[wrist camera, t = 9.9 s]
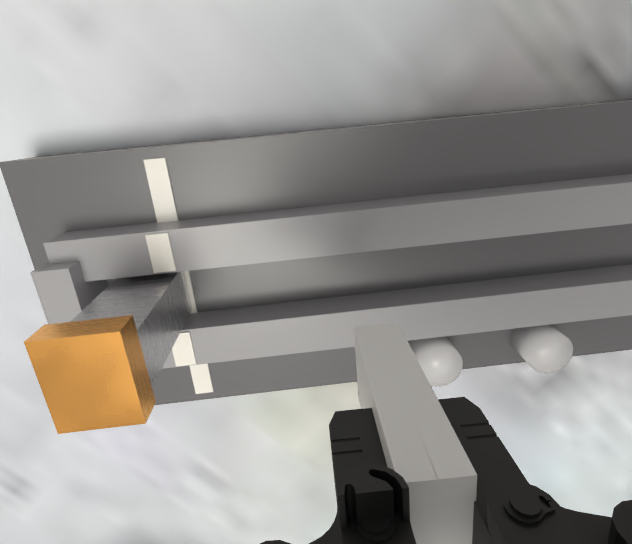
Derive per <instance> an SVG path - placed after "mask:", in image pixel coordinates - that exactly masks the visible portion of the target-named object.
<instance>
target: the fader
mask: <svg viewBox="0 0 632 544" xmlns="http://www.w3.org/2000/svg"><path fill="white" fill-rule="evenodd" d="M191 310H192V306H191V302H190V297H189V292H188V287H187V283H186V278H185V273H184V271H181V272H172V273H162V274H153V275H144V276H134V277H125V278H116V279H115V280H114V281H113V282H112V283H111V284H110V285H109V286H108V287H107V288H106V289H105V290H104V291H102V292H101V293H100V294H99V295H98V296H97V297H96V298H95V299H94V300H93V301H92V302H91V303H89V304H88V305H87V306H86V307H85V308H84V309H83V310H82V311H81V312H80V313H79V314H78V315H77V316H75V317H74V318H73V319H72V320H71V321H70V322H65V323H56V324H47V325H44V326H42V327H41V328H40V329H39V330H38V331H36V332H35V333H34V334H33V335H32V336H31V337H29V338H28V339H27V340H26V341H25V342H24V344H25V346H26V349H27V352H28V354H29V357H30V360H31V362H32V365H33V368H34V370H35V373H36V376H37V379H38V381H39V384H40V387H41V389H42V392H43V395H44V397H45V400H46V403H47V405H48V408H49V411H50V413H51V416H52V419H53V422H54V424H55V427H56V430H57V432H58V434H60V433H69V432H77V431H86V430H94V429H103V428H111V427H120V426H128V425H137V424H145V423H146V422H147V420H148V417H149V415H150V413H151V411H152V409H153V407H154V404H155V402H156V401H155V397H154V393H153V390H152V388H153V386H154V384H155V382H156V380H157V378H158V376H159V374H160V372H161V370H162V368H163V366H164V364H165V362H166V360H167V358H168V356H169V354H170V352H171V350H172V348H173V346H174V344H175V342H176V340H177V338H178V336H179V334H180V332H181V330H182V328H183V326H184V324H185V322H186V320H187V318H188V316H189V314H190V312H191Z"/></svg>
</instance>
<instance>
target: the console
mask: <svg viewBox="0 0 632 544" xmlns="http://www.w3.org/2000/svg"><path fill="white" fill-rule="evenodd" d="M0 168H1V171H2V174H3V177H4V180H5V183H6V186H7V189H8V191H9V194H10V197H11V200H12V203H13V206H14V209H15V212H16V215H17V218H18V221H19V224H20V227H21V230H22V233H23V236H24V239H25V242H26V245H27V247H28V250H29V253H30V256H31V259H32V262H33V265H34V268H35V270H34V271H32V272H31V275H32V278H33V281H34V284H35V287H36V290H37V293H38V296H39V298H40V301H41V304H42V307H43V310H44V313H45V316H46V319H47V322H48V324H56V323H65V322H70V321H71V320H72V319H73V318H74V317H75V316H77V315H78V314H79V313H80V312H81V311H82V310H83V309H84V308H85V307H86V306H87V305H88V304H89V303H91V302H92V301H93V300H94V299H95V298H96V297H97V296H98V295H99V294H100V293H101V292H102V291H104V290H105V289H106V288H107V287H108V286H109V285H110V284H111V283H112V282H113V281H114V280H115V279H116V278H125V277H134V276H144V275H153V274H162V273H172V272H181V271H184V273H185V278H186V283H187V287H188V292H189V297H190V302H191V306H192V310H191V312H190V314H189V316H188V318H187V320H186V322H185V324H184V326H183V328H182V330H181V332H180V334H179V336H178V338H177V340H176V342H175V344H174V346H173V348H172V350H171V352H170V354H169V356H168V358H167V360H166V362H165V364H164V366H163V368H162V370H161V372H160V374H159V376H158V378H157V380H156V382H155V384H154V386H153V388H152V390H153V393H154V397H155V401H156V402H155V404H154V405H160V404H168V403H177V402H185V401H194V400H203V399H211V398H220V397H228V396H237V395H245V394H254V393H262V392H271V391H280V390H288V389H297V388H305V387H314V386H322V385H331V384H340V383H348V382H357V369H356V355H355V340H354V327H359V326H369V325H378V324H388V323H398V324H399V326H400V328H401V329H402V331H403V333H404V335H405V337H406V339H407V341H408V343H409V345H410V347H411V349H412V351H413V353H414V354H415V356H416V358H417V360H418V362H419V364H420V366H421V368H422V370H423V372H424V374H425V376H426V378H427V379H428V381H429V383H430V385H431V386H443V385H447V384H449V383H451V382H452V381H454V380H455V379H456V378H457V377H458V376H459V374H460V373H461V370H462V369H468V368H476V367H485V366H494V365H502V364H511V363H519V362H527V363H528V364H529V365H530V366H531V367H532V368H533V369H534V370H536V371H537V372H540V373H553V372H556V371H558V370H560V369H561V368H563V367H564V366H565V365H566V364H567V363H568V362H569V360H570V359H571V357H572V356H579V355H588V354H596V353H605V352H613V351H622V350H631V349H632V100H622V101H612V102H601V103H591V104H581V105H570V106H560V107H550V108H539V109H529V110H519V111H508V112H498V113H488V114H477V115H467V116H457V117H446V118H436V119H426V120H415V121H405V122H395V123H384V124H374V125H363V126H353V127H343V128H332V129H322V130H312V131H301V132H291V133H281V134H270V135H260V136H250V137H239V138H229V139H219V140H208V141H198V142H188V143H177V144H167V145H157V146H146V147H136V148H125V149H115V150H105V151H94V152H84V153H74V154H63V155H53V156H43V157H33V158H26V159H19V160H12V161H5V162H0Z"/></svg>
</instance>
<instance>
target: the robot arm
mask: <svg viewBox="0 0 632 544" xmlns="http://www.w3.org/2000/svg"><path fill="white" fill-rule="evenodd" d="M354 340H355V355H356V369H357V384H358V397H359V401H360V405H361V409H356V410H346V411H336V412H335V413H334V416H333V418H332V420H331V422H330V424H329V430H330V440H331V450H332V460H333V470H334V480H335V489H336V498H337V515H336V518H335V521H334V523H333V524H332V526H331V527H330V529H329V530H328V531H327V532H326V533H325V534H324V535H323V536H322V537H320V538H318V539H317V540H315V541H313V542H311V543H309V544H632V500H629V501H622V502H621V503H620V504H618V505H617V506H616V507H614V511H613V516H612V517H606V516H600V515H594V514H588V513H582V512H577V511H573V510H569V509H565V508H563V507H561V506H559V504H558V503H557V502H556V501H555V500H554V499H553V498H552V497H551V496H550V495H549V494H547V493H546V492H544V491H543V490H541V489H539V488H538V487H536V486H533V485H530V484H529V483H528V482H527V480H526V478H525V477H524V475H523V474H522V472H521V471H520V469H519V468H518V466H517V465H516V463H515V462H514V460H513V459H512V457H511V455H510V454H509V452H508V451H507V449H506V448H505V446H504V445H503V443H502V442H501V440H500V439H499V437H497V435H496V433H495V431H494V429H493V428H492V426H491V425H489V422H488V420H487V419H486V417H485V416H484V414H483V413H482V411H481V410H480V408H479V407H477V406H476V405H475V404H473V403H472V402H470V401H469V400H468V399H466V398H465V397H458V398H449V399H439V400H438V399H437V397H436V395H435V393H434V391H433V389H432V387H431V385H430V383H429V381H428V379H427V378H426V376H425V374H424V372H423V370H422V368H421V366H420V364H419V362H418V360H417V358H416V356H415V354H414V353H413V351H412V349H411V347H410V345H409V343H408V341H407V339H406V337H405V335H404V333H403V331H402V329H401V328H400V326H399V324H398V323H388V324H378V325H369V326H359V327H354ZM260 544H290V543H287V542H284V541H281V540H273V541H265V542H263V543H260Z"/></svg>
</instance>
